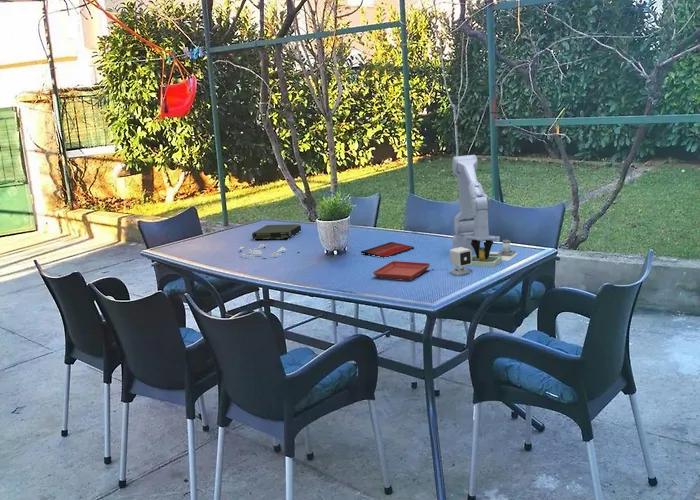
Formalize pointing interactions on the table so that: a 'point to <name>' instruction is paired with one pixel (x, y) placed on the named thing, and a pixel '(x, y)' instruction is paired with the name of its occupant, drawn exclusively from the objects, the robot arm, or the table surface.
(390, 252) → the binder
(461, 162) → the robot arm
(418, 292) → the table surface
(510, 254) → the fuse block
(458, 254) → the security camera
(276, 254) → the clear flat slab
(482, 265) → the parts tray
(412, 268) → the plant saucer
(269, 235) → the network switch
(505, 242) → the grey fuse
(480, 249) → the amber fuse
